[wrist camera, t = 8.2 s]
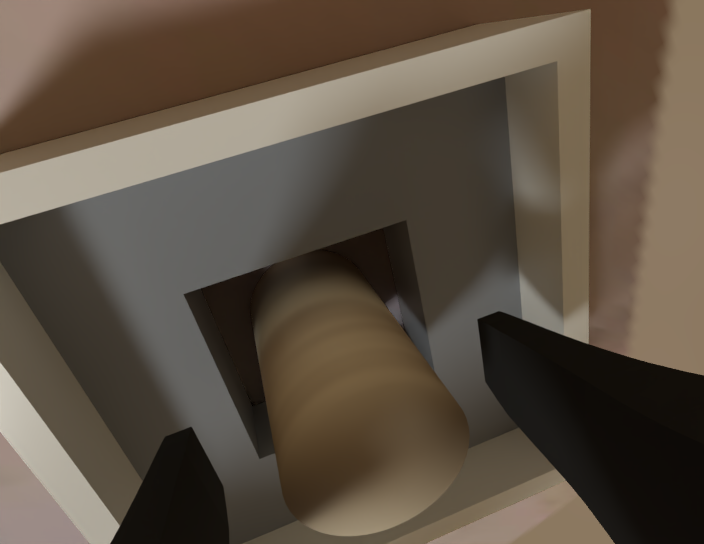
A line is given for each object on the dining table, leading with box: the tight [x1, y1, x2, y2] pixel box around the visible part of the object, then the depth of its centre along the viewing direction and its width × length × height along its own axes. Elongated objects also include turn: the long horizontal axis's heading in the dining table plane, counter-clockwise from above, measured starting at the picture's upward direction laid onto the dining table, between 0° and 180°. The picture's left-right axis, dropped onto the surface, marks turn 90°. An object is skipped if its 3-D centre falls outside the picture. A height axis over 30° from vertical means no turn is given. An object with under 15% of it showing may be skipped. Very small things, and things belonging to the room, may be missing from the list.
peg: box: [250, 250, 470, 536], centre depth 13 cm, size 4×4×7 cm
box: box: [0, 9, 591, 544], centre depth 14 cm, size 14×14×4 cm
